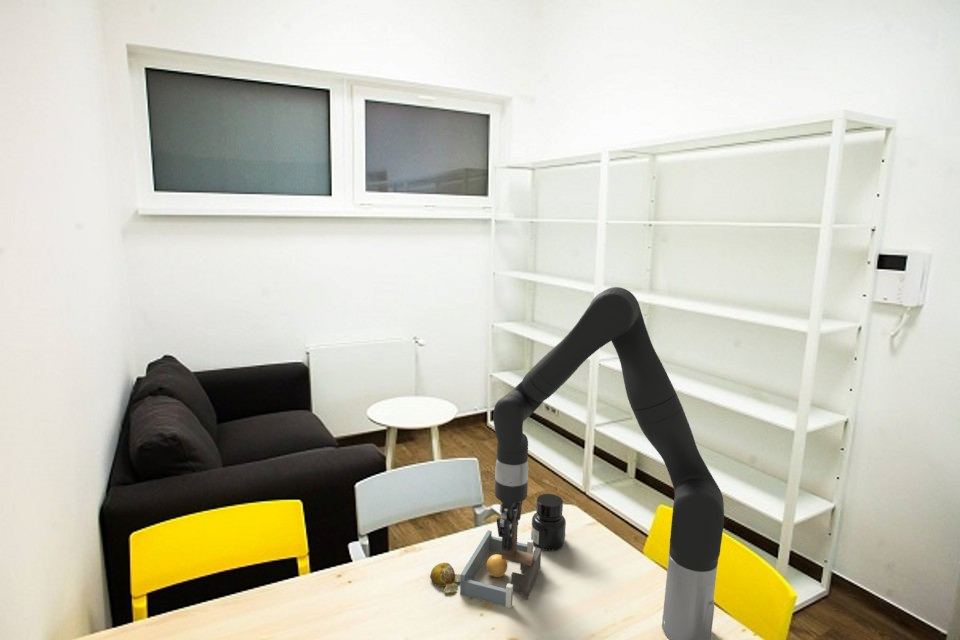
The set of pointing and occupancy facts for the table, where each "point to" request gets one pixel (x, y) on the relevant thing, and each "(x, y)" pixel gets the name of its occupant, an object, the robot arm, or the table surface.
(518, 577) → the kicker
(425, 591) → the table surface
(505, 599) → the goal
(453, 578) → the fruit
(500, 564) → the ball
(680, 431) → the robot arm
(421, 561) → the table surface
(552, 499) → the ink bottle
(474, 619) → the table surface
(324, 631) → the table surface
